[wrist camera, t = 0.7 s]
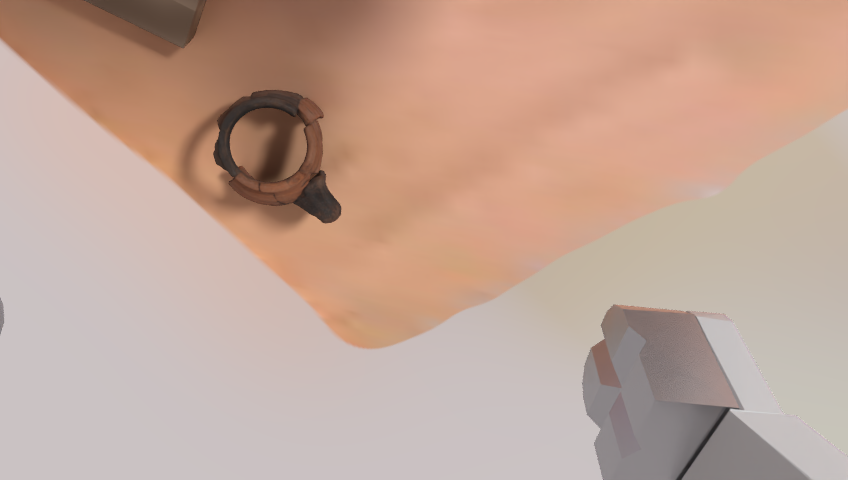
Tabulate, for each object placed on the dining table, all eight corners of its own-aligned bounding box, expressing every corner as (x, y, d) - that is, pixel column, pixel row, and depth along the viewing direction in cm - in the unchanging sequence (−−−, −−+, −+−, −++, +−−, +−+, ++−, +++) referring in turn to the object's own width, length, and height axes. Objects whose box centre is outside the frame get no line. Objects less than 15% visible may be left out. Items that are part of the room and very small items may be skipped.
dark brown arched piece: (205, 154, 53) (178, 152, 45) (276, 71, 53) (263, 55, 45) (312, 244, 55) (305, 258, 47) (382, 165, 55) (386, 165, 47)
